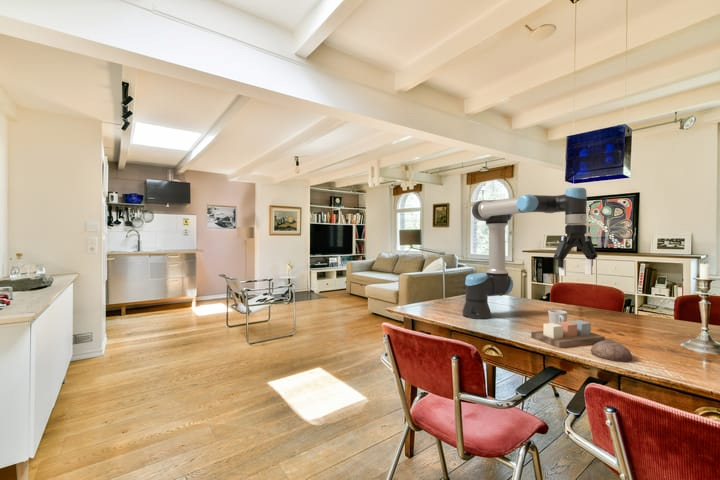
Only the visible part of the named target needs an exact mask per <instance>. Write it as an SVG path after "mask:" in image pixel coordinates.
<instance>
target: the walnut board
mask: <svg viewBox="0 0 720 480" xmlns="http://www.w3.org/2000/svg"><path fill="white" fill-rule="evenodd" d="M530 334H531V336H530V337H531V338H532V339H534V340H538V341H540V342H543V343H545V344H548V345H550V346H553V347H555V348H558V349H561V348H569V347H570V348H571V347H577V346H585V345H586V346H587V345H594V344H596V343H598V342H600V341H606V336H605V335H602V334H597V333H594V332H591V334H589V335H579V334H577V336H572V337H567V336H564V335H563V338H555V339H553V338H550V337H548V336H545V335H543V330H537V331H531V333H530Z"/></svg>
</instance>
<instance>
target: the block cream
mask: <svg viewBox="0 0 720 480" xmlns="http://www.w3.org/2000/svg"><path fill="white" fill-rule="evenodd" d="M542 331H543V335H545V336H548V337H550V338H553V339H555V338H563V326H561V325H558V324H555V323H549V322H547V323H543V330H542Z"/></svg>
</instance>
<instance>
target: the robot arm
mask: <svg viewBox="0 0 720 480" xmlns="http://www.w3.org/2000/svg"><path fill="white" fill-rule="evenodd" d="M587 196H588V195H587V189H586V188H585V187H569V188H566V189H565V191H564V194H560V195H540V194H539V195H538V194H523V195H521V196H517V197H510V198H504V199H498V200H485V199H484V200H478V201H477V202H474V204H473V205H472V208H471V214H472V216H473V217H474V218H475V219H476V220H478V221H481V222H485V225H486V226H487V227H488V269H487V270H486V272H485V273H483V272H477V273H476V272H475V273H469V274H467V275H466V276H465V282H464V284H465V287H464V288H465V302H464V305H463V308H462V312H461V313H462V314H463V315H465V316H468V317H472V318H471V319H474V318H487V319H490V318H491V317H492V312H491V309H490V305H489V303H488V297H495V296H496V297H497V296H499V297H503V296H507V295H508V294H510V293H511V292H512V291H513V288H514V281H513V278H512V277H511V276H510V275H509V272H508V271H507V270H506V227H507V226H508V225H509V221H511V219H512V218H513V215H514V214H527V213H528V214H529V213H543V214H554V213H564V216H565V217H564V224H565V227H564V232H565V233H564V234H566V235H562V236H561V235H560V236H559V242H558V245H557V247H556V250H555V252H554V254H553V258H554V259H555V260H557V263H558V264H557V267H558V275H559V276H562V277H566V276H567V260H566V258H567V256H568V254H569V253H570V252H571V250H572V248H573V249H574V248H579V249H580V250H581V252H582V254H583V255H584V256H585V259H584V274H585V275H591V276H593V267H594V260H596V259H597V258H598V254H597V251H596V248H595V246H594V244H593V241H592V240H593V239H592V236H591V235H586V234H587V232H588V231H587V230H588V229H587V225H586V224H587V205H588V204H587V201H588V200H587V199H588V197H587ZM463 315H462V316H463ZM465 316H464V317H465ZM468 317H467V318H468Z"/></svg>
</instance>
